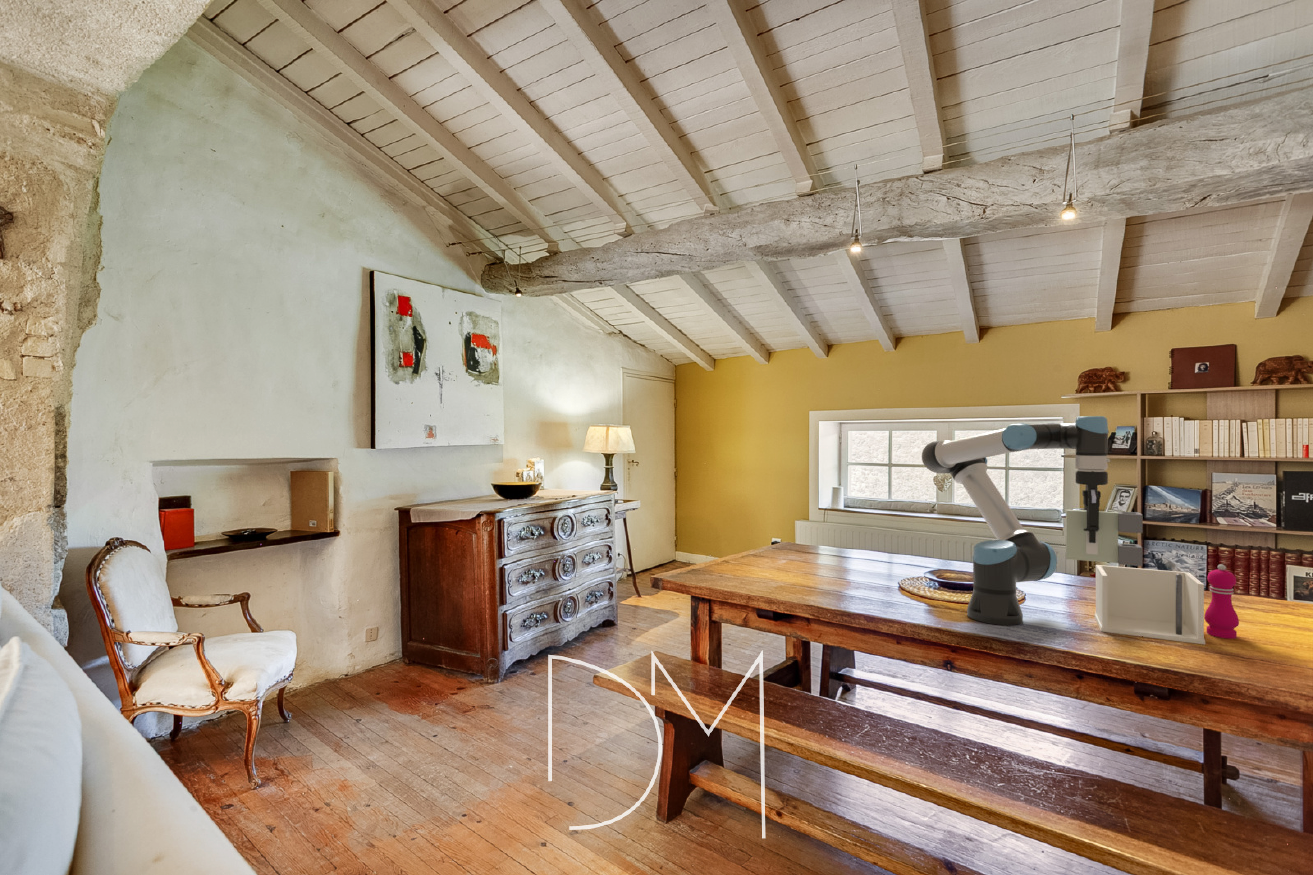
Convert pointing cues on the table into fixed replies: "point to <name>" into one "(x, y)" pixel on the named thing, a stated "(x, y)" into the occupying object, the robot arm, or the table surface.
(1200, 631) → the carcass
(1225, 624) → the pepper mill
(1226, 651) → the table surface
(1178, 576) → the hinge pin
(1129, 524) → the door
